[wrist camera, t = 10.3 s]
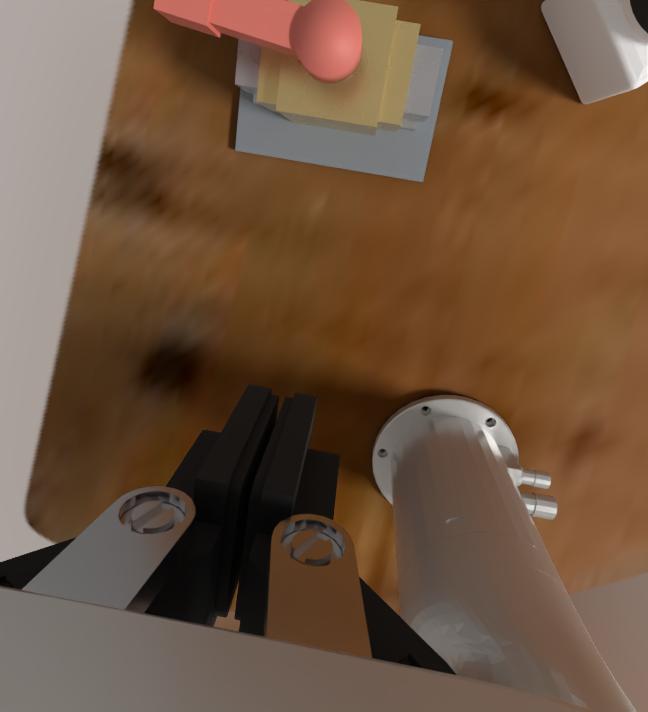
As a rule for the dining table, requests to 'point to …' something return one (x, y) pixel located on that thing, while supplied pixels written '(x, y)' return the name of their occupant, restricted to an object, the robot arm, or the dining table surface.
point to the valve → (350, 78)
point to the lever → (281, 29)
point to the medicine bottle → (601, 44)
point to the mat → (343, 136)
